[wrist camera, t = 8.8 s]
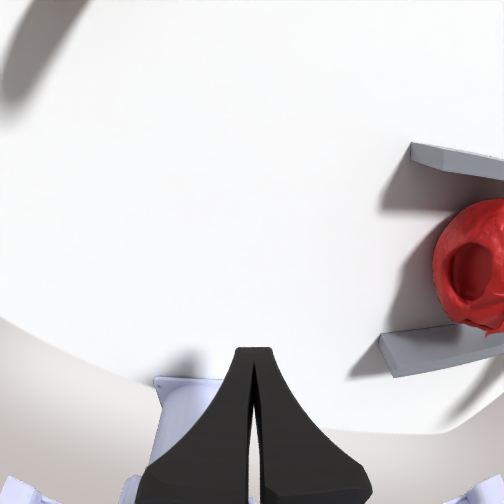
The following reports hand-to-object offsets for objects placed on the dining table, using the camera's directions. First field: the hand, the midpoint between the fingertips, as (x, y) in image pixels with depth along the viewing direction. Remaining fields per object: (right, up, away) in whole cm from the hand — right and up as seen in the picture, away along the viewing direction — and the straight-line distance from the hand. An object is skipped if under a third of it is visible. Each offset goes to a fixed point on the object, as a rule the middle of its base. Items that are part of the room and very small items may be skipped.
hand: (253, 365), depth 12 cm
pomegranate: (+17, +5, +8) cm, 20 cm away
